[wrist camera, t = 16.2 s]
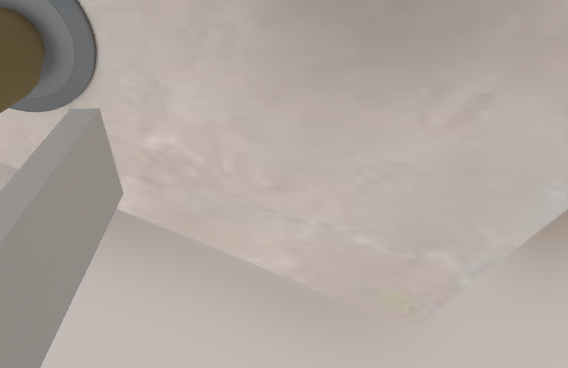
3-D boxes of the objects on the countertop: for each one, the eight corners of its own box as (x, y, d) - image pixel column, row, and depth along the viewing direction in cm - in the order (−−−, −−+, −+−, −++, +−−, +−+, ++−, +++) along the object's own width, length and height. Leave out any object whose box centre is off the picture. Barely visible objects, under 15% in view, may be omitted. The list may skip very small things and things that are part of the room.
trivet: (-101, -48, 38) (-110, -45, 37) (70, -53, 37) (64, -51, 36) (-29, 109, 46) (-35, 114, 45) (112, 105, 45) (108, 110, 45)
